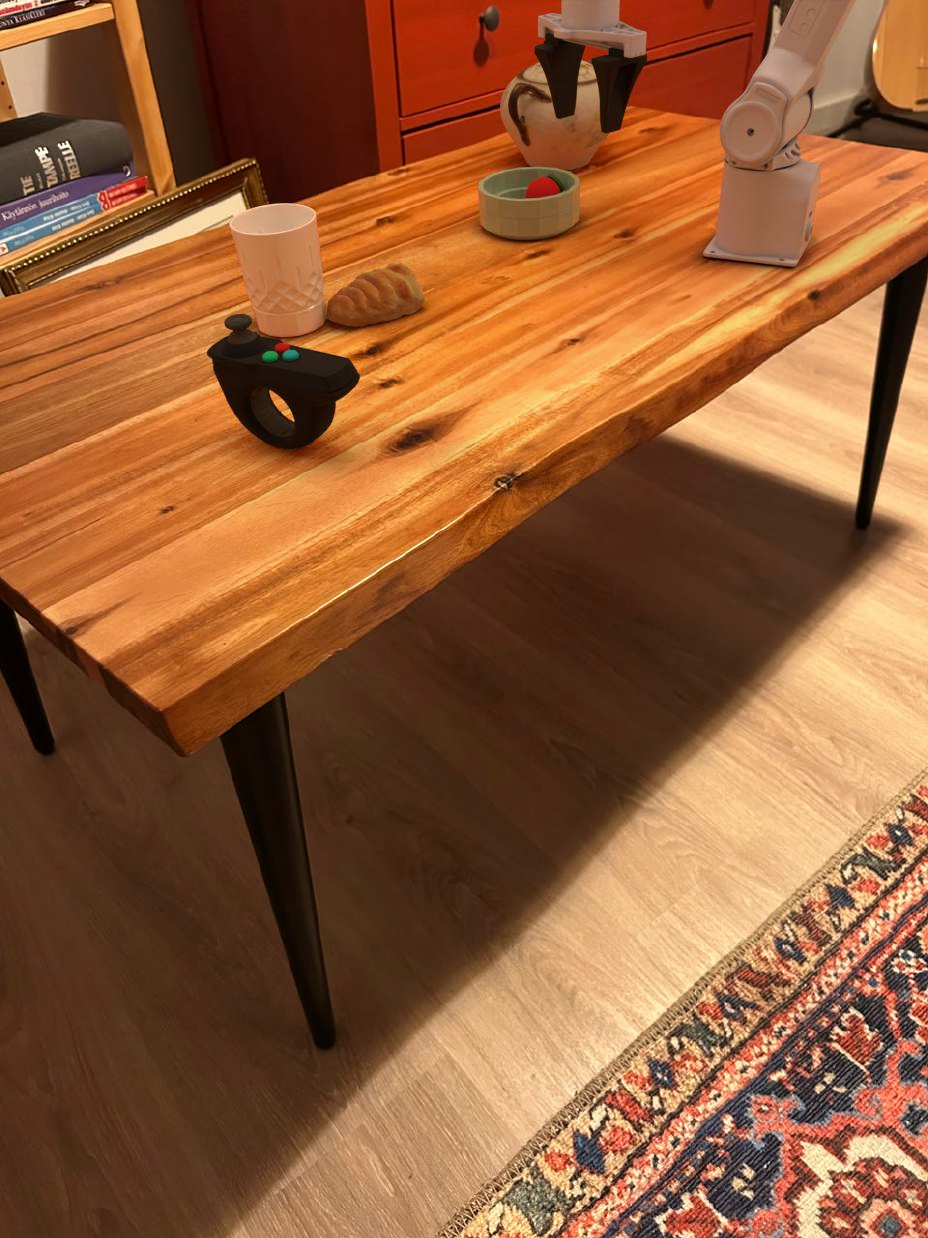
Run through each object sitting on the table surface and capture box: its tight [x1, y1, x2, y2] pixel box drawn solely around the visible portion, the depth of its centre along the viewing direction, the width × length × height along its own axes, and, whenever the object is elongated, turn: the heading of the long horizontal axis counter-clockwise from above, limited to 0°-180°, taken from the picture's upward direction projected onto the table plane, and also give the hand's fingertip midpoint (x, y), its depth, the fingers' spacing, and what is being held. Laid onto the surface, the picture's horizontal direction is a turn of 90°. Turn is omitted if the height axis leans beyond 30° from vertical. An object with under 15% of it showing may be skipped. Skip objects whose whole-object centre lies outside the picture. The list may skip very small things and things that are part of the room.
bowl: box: [477, 166, 581, 241], centre depth 109 cm, size 11×11×4 cm
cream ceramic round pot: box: [499, 59, 610, 171], centre depth 122 cm, size 20×15×15 cm
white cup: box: [228, 202, 328, 338], centre depth 91 cm, size 8×8×10 cm
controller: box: [206, 313, 361, 451], centre depth 74 cm, size 4×12×10 cm, turn 62°
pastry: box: [326, 262, 425, 329], centre depth 94 cm, size 9×7×4 cm
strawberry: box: [526, 174, 564, 199], centre depth 109 cm, size 4×4×4 cm
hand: (587, 123), depth 103 cm, fingers open, 7 cm apart
